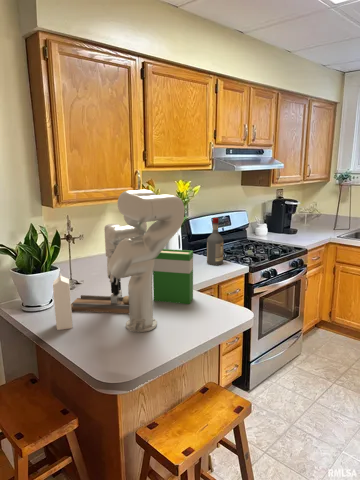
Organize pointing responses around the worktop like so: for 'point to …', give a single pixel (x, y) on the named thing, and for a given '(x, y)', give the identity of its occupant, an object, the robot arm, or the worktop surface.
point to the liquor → (215, 246)
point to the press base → (98, 304)
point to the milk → (62, 303)
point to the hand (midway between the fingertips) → (116, 291)
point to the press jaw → (116, 296)
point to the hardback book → (173, 276)
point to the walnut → (126, 300)
